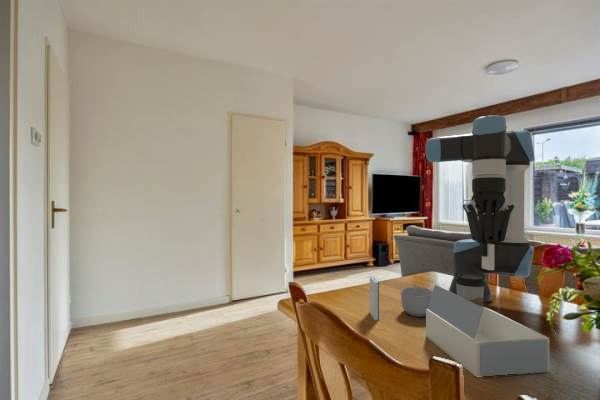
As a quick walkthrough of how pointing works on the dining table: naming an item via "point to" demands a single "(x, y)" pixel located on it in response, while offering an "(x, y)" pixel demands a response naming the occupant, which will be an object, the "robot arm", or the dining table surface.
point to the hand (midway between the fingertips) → (487, 268)
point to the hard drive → (374, 298)
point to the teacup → (416, 300)
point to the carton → (491, 345)
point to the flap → (456, 310)
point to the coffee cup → (470, 288)
